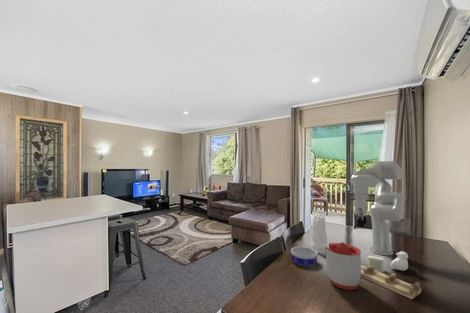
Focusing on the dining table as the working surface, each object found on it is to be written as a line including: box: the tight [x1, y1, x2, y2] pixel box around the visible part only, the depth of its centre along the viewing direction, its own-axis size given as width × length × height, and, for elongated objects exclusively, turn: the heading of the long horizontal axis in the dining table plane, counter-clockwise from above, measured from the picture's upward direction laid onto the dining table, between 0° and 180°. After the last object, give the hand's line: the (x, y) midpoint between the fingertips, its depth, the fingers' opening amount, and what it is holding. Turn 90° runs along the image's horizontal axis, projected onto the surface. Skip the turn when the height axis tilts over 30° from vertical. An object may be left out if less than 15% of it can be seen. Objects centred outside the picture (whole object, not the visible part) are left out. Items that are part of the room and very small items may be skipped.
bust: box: [390, 250, 409, 272], centre depth 117 cm, size 12×8×11 cm
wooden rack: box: [360, 264, 422, 300], centre depth 106 cm, size 10×30×4 cm, turn 30°
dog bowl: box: [290, 246, 318, 267], centre depth 128 cm, size 15×15×6 cm
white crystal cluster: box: [310, 212, 329, 255], centre depth 145 cm, size 11×11×25 cm
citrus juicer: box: [321, 241, 362, 291], centre depth 103 cm, size 16×17×20 cm
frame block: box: [367, 255, 385, 273], centre depth 117 cm, size 3×7×6 cm, turn 60°
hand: (362, 225), depth 124 cm, fingers open, 9 cm apart
